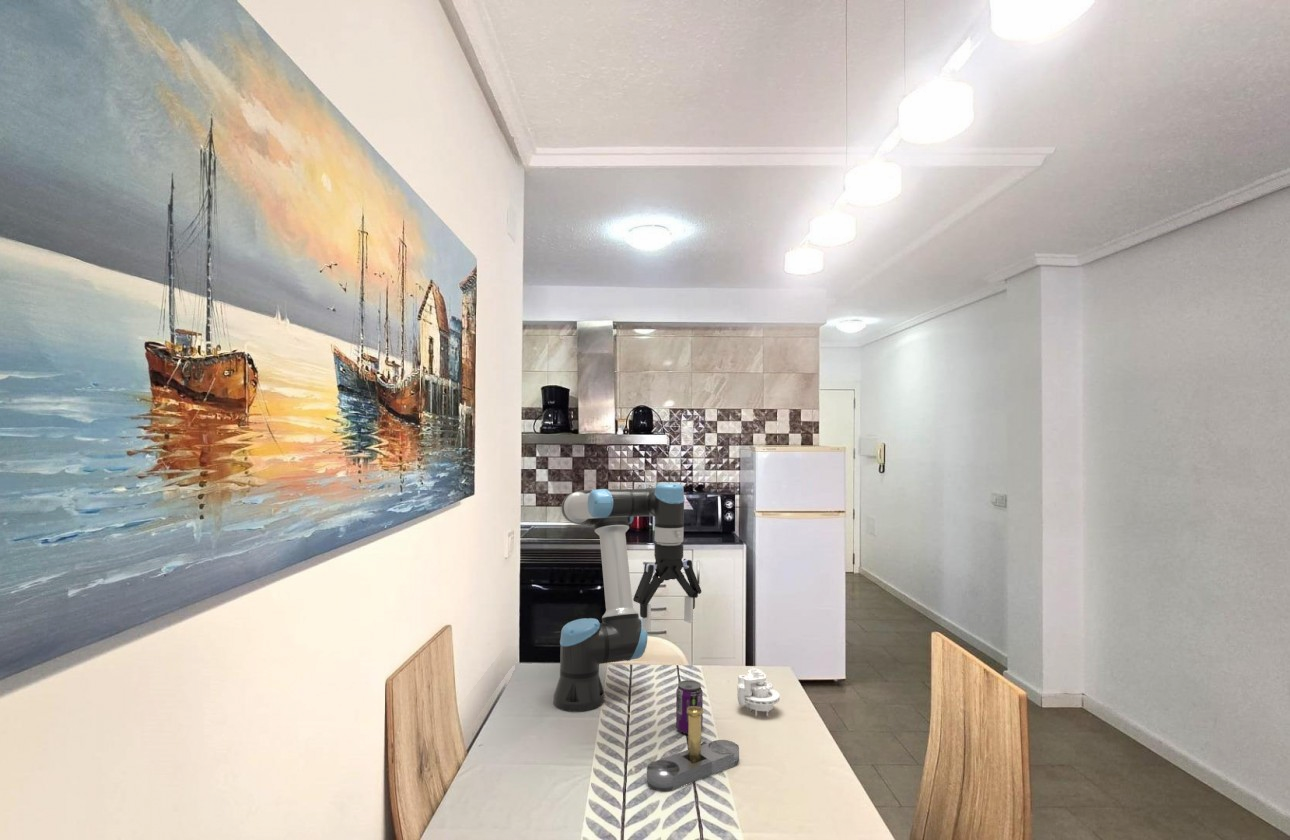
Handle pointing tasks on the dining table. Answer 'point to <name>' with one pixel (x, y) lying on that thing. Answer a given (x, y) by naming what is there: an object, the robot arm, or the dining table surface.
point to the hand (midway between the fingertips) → (667, 626)
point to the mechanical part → (756, 691)
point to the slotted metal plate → (692, 766)
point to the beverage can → (687, 702)
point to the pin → (694, 733)
